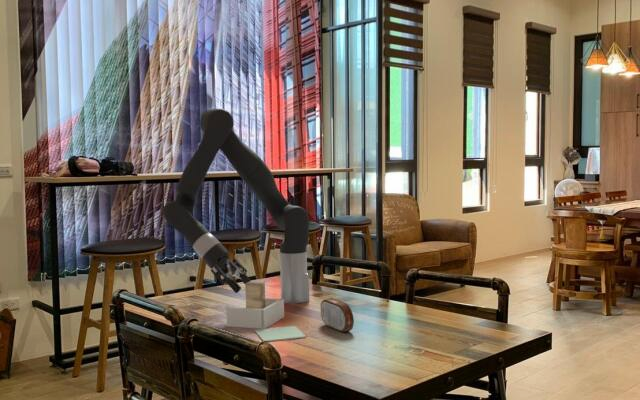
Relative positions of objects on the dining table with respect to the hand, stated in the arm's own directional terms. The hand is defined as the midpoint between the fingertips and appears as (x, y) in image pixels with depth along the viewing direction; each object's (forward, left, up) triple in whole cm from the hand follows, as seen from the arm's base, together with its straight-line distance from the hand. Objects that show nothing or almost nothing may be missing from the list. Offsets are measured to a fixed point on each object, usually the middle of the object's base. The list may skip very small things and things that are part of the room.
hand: (245, 288), depth 206 cm
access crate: (-2, +2, -11) cm, 11 cm away
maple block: (-3, +2, -8) cm, 9 cm away
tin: (-23, +19, -10) cm, 32 cm away
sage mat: (-6, +19, -10) cm, 23 cm away
